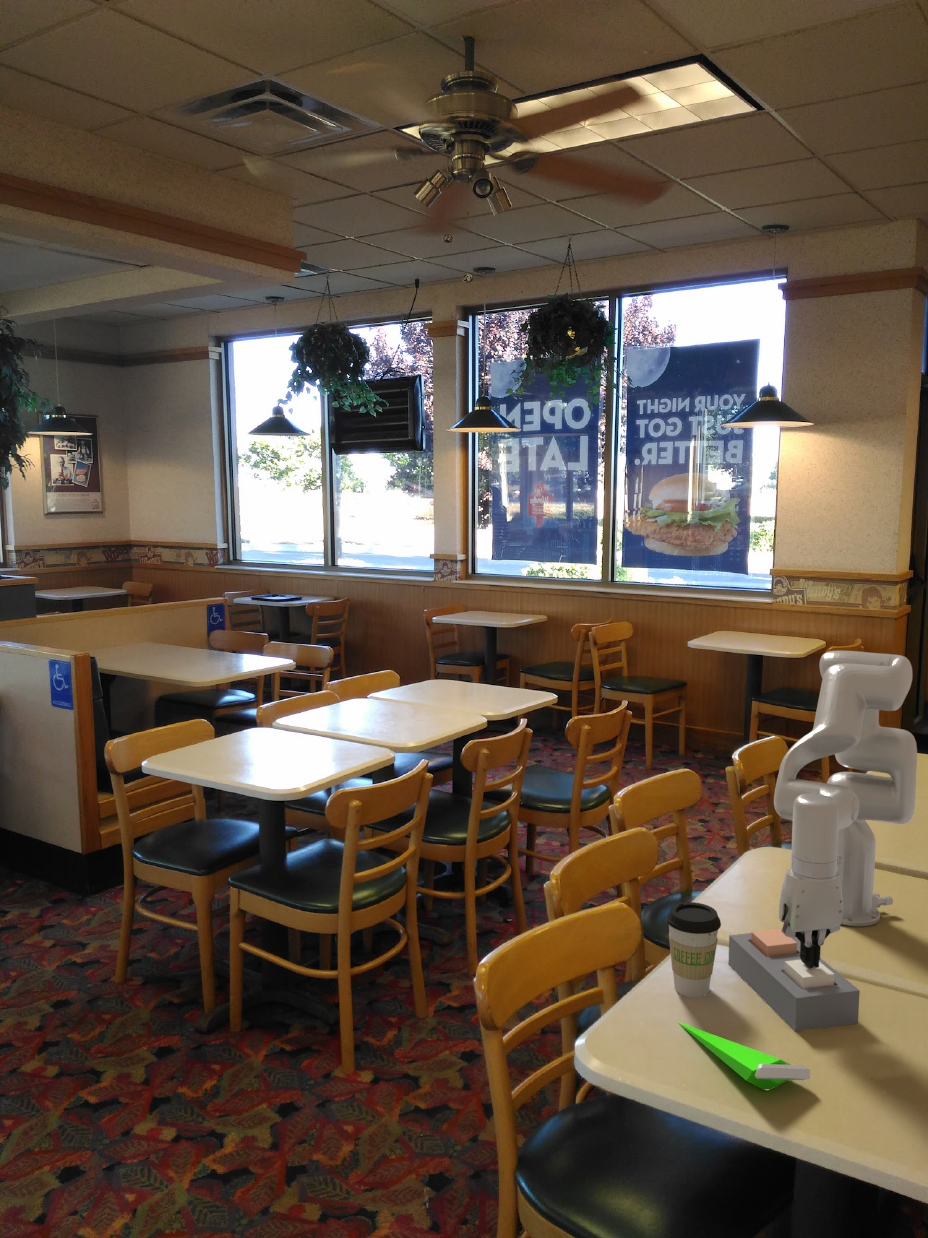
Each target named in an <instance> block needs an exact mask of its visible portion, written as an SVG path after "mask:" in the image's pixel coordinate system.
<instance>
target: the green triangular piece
mask: <svg viewBox="0 0 928 1238" xmlns="http://www.w3.org/2000/svg"><path fill="white" fill-rule="evenodd" d="M677 1023H678V1024H679V1025H680V1027H682V1028H683V1029H684V1030H685V1031H687V1032H688V1033H689V1034H690V1035H692V1037H694V1038H695V1039H696V1040H697V1041H699V1043H701V1044H702V1045H703V1046H704V1047H706V1048H707V1049H708V1050H710V1052H711V1053H713V1054H714V1055H715V1056H717V1057H718V1058H719V1059H720V1060H721V1061H722V1062H723V1063H724V1064H726V1065H727V1066H728V1067H729V1068H731V1069H732V1071H734V1072H735V1073H736V1074H738V1075H739V1076H740V1077H742V1079H744V1081H746V1082H748V1083H750V1084H752V1085H754V1086H755V1087H758V1088H759V1089H761V1090H763V1089H770V1090H772V1089H774V1088H776V1087H778V1086H780V1085H782V1084H785V1083H786V1082H788V1080H789V1081H790V1080H791V1081H806V1080H810V1079H811V1078H810V1077H811V1069H810V1068H809V1067H806V1066H805V1065H803V1064H800V1065H799V1064H790V1063H788V1062H787V1061H784V1060H782V1059H780V1058H777V1057H775V1056H773V1055H769V1054H766V1053H764V1052H761V1051H759V1050H756V1049H753V1048H751V1047H749V1046H745V1045H742V1044H740V1043H737V1042H734V1041H731V1040H728V1039H726V1038H723V1037H720V1036H718V1035H715V1034H712V1033H710V1032H708V1031H707V1032H706V1031H704V1030H701V1029H699V1028H696V1027H693V1026H691V1025H687V1024H684V1023H682V1022H679V1021H678V1022H677ZM781 1083H782V1084H781ZM779 1084H780V1085H779ZM773 1087H774V1088H773ZM771 1088H772V1089H771Z"/></svg>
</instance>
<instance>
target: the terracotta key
mask: <svg viewBox="0 0 928 1238" xmlns="http://www.w3.org/2000/svg"><path fill="white" fill-rule="evenodd" d="M750 933H751V943H752V944H753V945H754V946H755V947H756V948H757V949H758V950H759V951H760V952H761V953H762V954H764V955H765V956H766V957H770V956H778V955H787V954H796V953H797V943H796V942H795V941H794V940H793V939H792V938H790V937H787V936H785V935H784V934H783V933H782V928H777V929H775V928H774V929H766V930H765V929H764V930H758V931H757V930H755V931H751V932H750Z"/></svg>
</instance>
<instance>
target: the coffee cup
mask: <svg viewBox="0 0 928 1238" xmlns="http://www.w3.org/2000/svg"><path fill="white" fill-rule="evenodd" d="M665 921H666V923H667V924H668V931H669V933H668V941H669V949H670V950H669V951H670V962H671V969H672V973H673V985H674V990H675V991H676V993H678V994H680V995H682V996H685V997H687V998H702V997H705V996H706V995H708V994H709V991H710V985H711V979H712V978H711V977H712V975H713V972H714V971H713V970H714V965H715V958H716V951H717V945H718V933H719V929H721V926H722V923H721V918H720V917H719V915H718V911H717V910H716V909H715V908H713V907H712V906H710V905H709V904H704V903H700V902H695V901H693V902H692V901H685V902H684V901H682V902H678V903H675V904H673V905H672V906H671V907H670V909H669V911H668V913H667V914H666V918H665Z"/></svg>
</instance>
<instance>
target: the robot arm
mask: <svg viewBox="0 0 928 1238" xmlns="http://www.w3.org/2000/svg"><path fill="white" fill-rule="evenodd" d="M819 672H820V676H821V678H822V680H821V685H820V691H819V696H818V701H817V707H816V711H815V716H814V721H813V722H814V723H813V728H812V730H811V731H810V732H808V733H807V734H805V735H804V736H802V737H801V738H799V739H798V740H797V741H796V742H795V743H794V744H793V745H792V746H791V747H790V748H789V749H788V751H787V752H786V753H785V755H784V756H783V758H782V760H781V763H780V765H779V771H778V775H777V779H776V782H775V783H776V784H775V787H774V788H775V789H774V795H773V805H774V809H775V812H776V813H777V815H778V816H779V817H781V818H783V819H785V820H789V821H792V829H791V831H792V832H791V852H790V853H791V855H790V869H786V871H785V874H784V878H783V881H782V885H781V891H780V899H779V908H778V919H779V921H780V922H782V923H783V925H782V928H781V930H782V933H783V934H784V935H785V936H787V937H793V938H794V937H795V938H797V939H798V940H799V941H800V959H801V961H802V962H803V963H804V964H805V965H806V966H808V967H809V968H813V967H815V968H818V967H819V960H820V958H821V950H822V949H821V947H822V946H823V945H824V944H825V940H826V939H827V938H828V937H829V936H830V934H834V933H836V932H838V931H840V929H841V925H843V926H850V927H870V926H872V925H875V924H877V923H878V922H879V921H880V919H881V913H880V911H879V910H878V908H881V906H891V905H893V904H894V899H893V898H892V895H884V896H883V895H882V896H881V895H880V893H878V892H874V888H875V887H874V884H875V863H876V850H877V849H876V848H877V847H876V844H877V843H876V842H877V840H876V836H875V834H874V832H873V830H872V828H871V827H870V825H869V823H868V822H867V821H873V822H879V823H880V822H881V823H886V824H893V825H895V824H896V825H905V824H908V823H909V822H910V821H912V819H913V816H914V813H915V809H916V799H917V798H916V793H917V772H918V771H917V768H918V767H917V766H918V748H917V741H916V739H915V736H914V734H912V733H911V732H910V731H909V730H906V729H901V728H896V727H887V726H881V725H880V721H879V719H880V715H879V714H880V711H885V712H893V711H894V712H895V711H897V710H899V709H900V708H901V707H902V705H903V704H904V701H905V699H906V697H907V696H908V693H909V691H910V689H911V686H912V682H913V665H912V664H911V662H910V660H909V659H908V658H907V657H906V656H903V655H900V654H892V653H891V654H890V653H879V652H878V653H876V652H868V651H867V652H866V651H857V650H856V651H855V650H831V651H827V652H825V653H823V654H822V655H821V657H820V659H819ZM832 755H834V756H835V760H836V761H837V763H838V764H839V765H841V766H842V767H845V768H848V769H852V770H853V769H854V770H859V771H867V772H868V771H869V772H875V773H881V774H888V775H889V776H890V777H889V776H884V775H875V774H869V773H861V772H856V771H855V772H854V771H839V772H836V773H833V774H832V775H830V777H829V778H828V780H827V782H826V783H825V782H821V781H820V782H819V781H813V780H805V779H799V778H797V774H798V773H799V772H800V771H801V769H803V768H804V767H805V766H806V765H808V764H809V763H812V762H813V761H816V760H819V759H822V758H826V757H829V756H832ZM796 778H797V779H796Z"/></svg>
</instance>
